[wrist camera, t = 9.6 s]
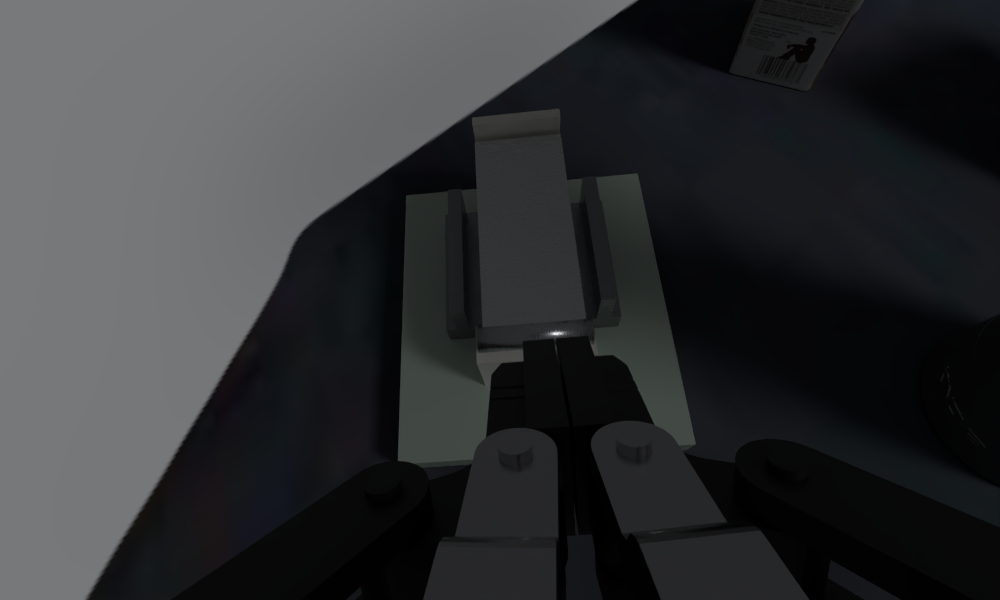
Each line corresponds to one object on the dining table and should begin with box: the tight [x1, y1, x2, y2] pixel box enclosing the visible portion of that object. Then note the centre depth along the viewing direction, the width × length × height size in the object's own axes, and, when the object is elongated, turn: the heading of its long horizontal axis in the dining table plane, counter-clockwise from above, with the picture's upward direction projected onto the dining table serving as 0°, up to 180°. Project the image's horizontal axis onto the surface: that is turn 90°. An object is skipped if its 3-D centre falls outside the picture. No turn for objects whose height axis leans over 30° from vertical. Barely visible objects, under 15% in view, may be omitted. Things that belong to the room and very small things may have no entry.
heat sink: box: [445, 176, 622, 340], centre depth 30 cm, size 10×8×4 cm
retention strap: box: [475, 134, 595, 353], centre depth 27 cm, size 6×1×13 cm
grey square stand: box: [398, 109, 695, 468], centre depth 29 cm, size 16×18×8 cm
